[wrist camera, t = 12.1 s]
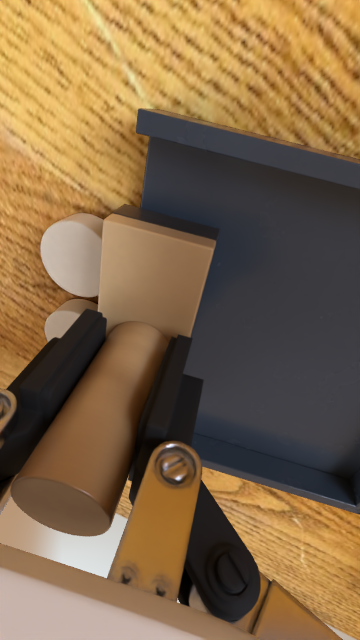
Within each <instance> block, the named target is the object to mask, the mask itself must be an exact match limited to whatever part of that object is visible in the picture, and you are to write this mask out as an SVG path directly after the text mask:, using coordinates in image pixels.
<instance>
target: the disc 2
mask: <svg viewBox="0 0 360 640" xmlns="http://www.w3.org/2000/svg"><path fill="white" fill-rule="evenodd" d="M85 309H91V310H94V311H98V305H97V304H95V303H93V302H91V301H88V300H85V299H72V300H68V301H66V302H65V303H63V304H62V305H61V306H60V307H59V308H57V309H56V310H55V311H54V312H53V313H52V314H50V316H49V317H48V318H47V320H46V323H45V335H46V338H47V341H48V342H49V341H50V340H51V339H52V338H54V337H57V338H61V337H62V336H63V335H64V334H65V332H66V331H67V330H68V329H69V328H70V327H71V325H72V324H73V323H74V322H75V321H76V320H77V318H78V317H79V316H80V315H81V314H82V313H83V312H84V310H85Z"/></svg>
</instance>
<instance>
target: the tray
mask: <svg viewBox="0 0 360 640" xmlns="http://www.w3.org/2000/svg"><path fill="white" fill-rule="evenodd" d="M136 133H138V134H142V135H146V136H149V144H148V152H147V159H146V167H145V175H144V183H143V191H142V199H141V206H140V208H142V209H146V210H149V211H153V212H157V213H161V214H165V215H169V216H172V217H176V218H180V219H184V220H188V221H191V222H195V223H199V224H203V225H207V226H210V227H214V228H218V229H220V232H219V236H218V240H217V243H216V247H215V251H214V254H213V258H212V261H211V265H210V269H209V272H208V276H207V280H206V283H205V287H204V290H203V294H202V298H201V301H200V305H199V309H198V312H197V316H196V320H195V323H194V327H193V330H192V334H191V338H193V339H192V343H191V347H190V350H189V354H188V357H187V361H186V365H185V368H184V372H183V374H186V375H189V376H193V377H196V378H200V379H203V380H204V382H203V387H202V393H201V398H200V403H199V408H198V413H197V419H196V424H195V429H194V434H193V439H192V445H191V448H192V449H194V450H195V451H196V453H197V454H198V456H199V457H200V460H201V463H202V467H206V468H209V469H212V470H216V471H219V472H222V473H225V474H229V475H232V476H235V477H238V478H242V479H245V480H248V481H252V482H255V483H258V484H261V485H265V486H268V487H271V488H274V489H278V490H281V491H284V492H288V493H291V494H294V495H297V496H301V497H304V498H307V499H310V500H314V501H317V502H320V503H324V504H327V505H330V506H333V507H337V508H340V509H343V510H346V511H350V512H353V513H356V514H360V159H356V158H352V157H348V156H344V155H340V154H336V153H332V152H328V151H324V150H320V149H316V148H312V147H308V146H304V145H300V144H296V143H292V142H288V141H284V140H280V139H276V138H272V137H268V136H264V135H260V134H256V133H252V132H248V131H244V130H240V129H236V128H232V127H228V126H224V125H220V124H216V123H212V122H208V121H204V120H200V119H196V118H192V117H188V116H184V115H180V114H176V113H172V112H168V111H164V110H160V109H138V116H137V125H136Z"/></svg>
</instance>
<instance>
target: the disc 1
mask: <svg viewBox="0 0 360 640" xmlns="http://www.w3.org/2000/svg"><path fill="white" fill-rule="evenodd" d="M102 230H103V219H101V218H99V217H97V216H94V215H91V214H87V213H77V214H73V215H70V216H68V217H66V218H64V219H62V220H60V221H58V222H56V223H54V224H52V225H51V226H50V227H49V228H47V230H46V231H45V233H44V235H43V237H42V240H41V245H40V252H41V258H42V261H43V264H44V267H45V269H46V270H47V272H48V274H49V275H50V277H51V278H52V279H53V280H54V281H55V282H56V283H57V284H58V285H59V286H60V287H61V288H63V289H64V290H66V291H67V292H69V293H71V294H74V295H77V296H81V297H94V296H98V295H99V280H100V263H101V247H102Z"/></svg>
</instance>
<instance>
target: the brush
mask: <svg viewBox="0 0 360 640" xmlns="http://www.w3.org/2000/svg"><path fill="white" fill-rule="evenodd" d="M219 232H220V229H218V228H214V227H210V226H207V225H203V224H199V223H195V222H191V221H188V220H184V219H180V218H176V217H172V216H169V215H165V214H161V213H157V212H153V211H149V210H146V209H142V208H138V207H134V206H130V205H127V204H124V205H123V206H121V207H120V208H118V209H117V210H116V211H114V212H113V213H112V214H111V215H109V216H108V217H106V218H105V219H104V220H103V230H102V247H101V263H100V280H99V297H98V312H101V313H102V314H103V317H105V318H107V327H106V339H105V342H104V344H103V345H102V347H101V348H100V350H99V351H98V353H97V354H96V356H95V357H94V359H93V360H92V362H91V363H90V365H89V366H88V368H87V370H86V371H85V373H84V374H83V376H82V377H81V379H80V380H79V382H78V383H77V385H76V386H75V388H74V389H73V391H72V392H71V394H70V396H69V397H68V399H67V400H66V402H65V403H64V405H63V406H62V408H61V409H60V411H59V412H58V414H57V415H56V417H55V418H54V420H53V422H52V423H51V425H50V426H49V428H48V429H47V431H46V432H45V434H44V435H43V437H42V438H41V440H40V441H39V443H38V444H37V446H36V448H35V449H34V451H33V452H32V454H31V455H30V457H29V458H28V460H27V461H26V463H25V464H24V466H23V467H22V469H21V470H20V472H19V474H18V475H17V477H16V478H15V480H14V481H13V483H12V485H11V489H10V492H11V496H12V498H13V500H14V502H15V503H16V504H17V506H18V507H20V509H21V510H22V511H24V512H25V513H26V514H27V515H28V516H30V517H31V518H33V519H35V520H36V521H38V522H39V523H41V524H43V525H45V526H47V527H49V528H52V529H54V530H57V531H60V532H64V533H67V534H71V535H77V536H97V535H101V534H103V533H105V532H106V531H107V530H108V529H109V528H110V527H111V524H112V521H113V518H114V515H115V513H116V510H117V507H118V504H119V501H120V498H121V495H122V492H123V490H124V487H125V484H126V481H127V478H128V475H129V472H130V469H131V467H132V464H133V461H134V458H135V448H134V447H135V442H136V437H137V432H138V427H139V423H140V420H141V417H142V414H143V411H144V408H145V406H146V403H147V400H148V398H149V395H150V392H151V390H152V387H153V384H154V382H155V379H156V376H157V373H158V371H159V368H160V365H161V363H162V360H163V357H164V355H165V352H166V349H167V347H168V344H169V341H170V339H171V337H175V338H177V336H178V334H180V335H183V336H187V337H190V338H191V334H192V330H193V327H194V323H195V320H196V316H197V312H198V309H199V305H200V301H201V298H202V294H203V290H204V287H205V283H206V280H207V276H208V272H209V269H210V265H211V261H212V258H213V254H214V251H215V247H216V243H217V240H218V236H219Z"/></svg>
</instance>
